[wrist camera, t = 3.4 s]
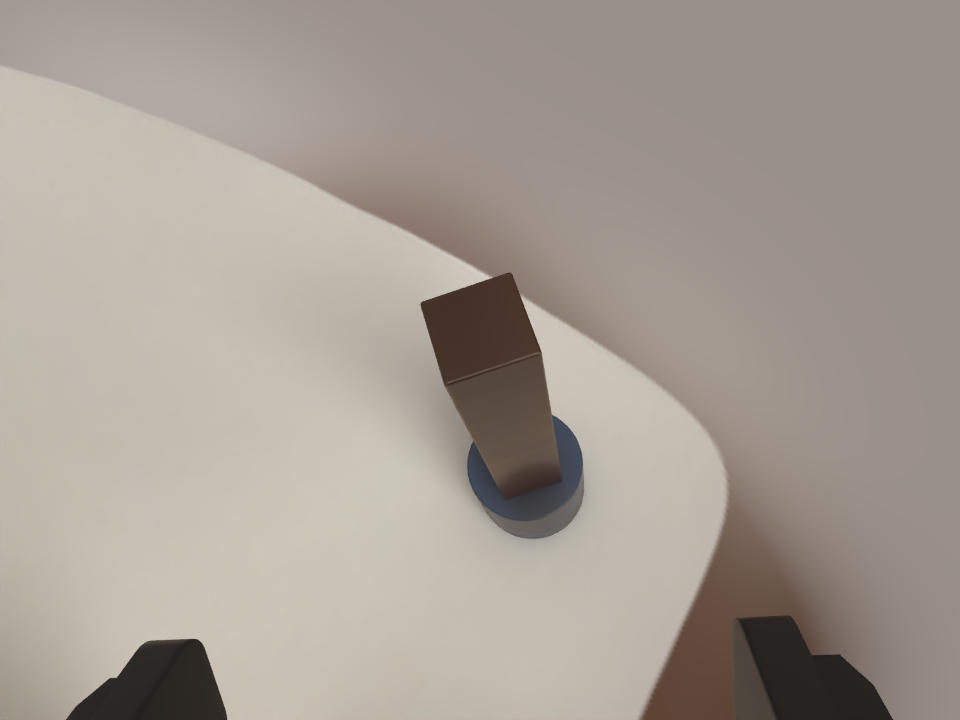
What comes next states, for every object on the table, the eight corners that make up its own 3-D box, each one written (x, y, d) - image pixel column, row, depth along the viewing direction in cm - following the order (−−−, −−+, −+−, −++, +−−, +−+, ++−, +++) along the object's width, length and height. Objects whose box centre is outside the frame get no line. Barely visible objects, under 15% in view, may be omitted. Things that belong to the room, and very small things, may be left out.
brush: (563, 424, 32) (539, 221, 17) (599, 519, 30) (604, 379, 15) (469, 456, 32) (367, 280, 18) (498, 552, 30) (410, 444, 16)
